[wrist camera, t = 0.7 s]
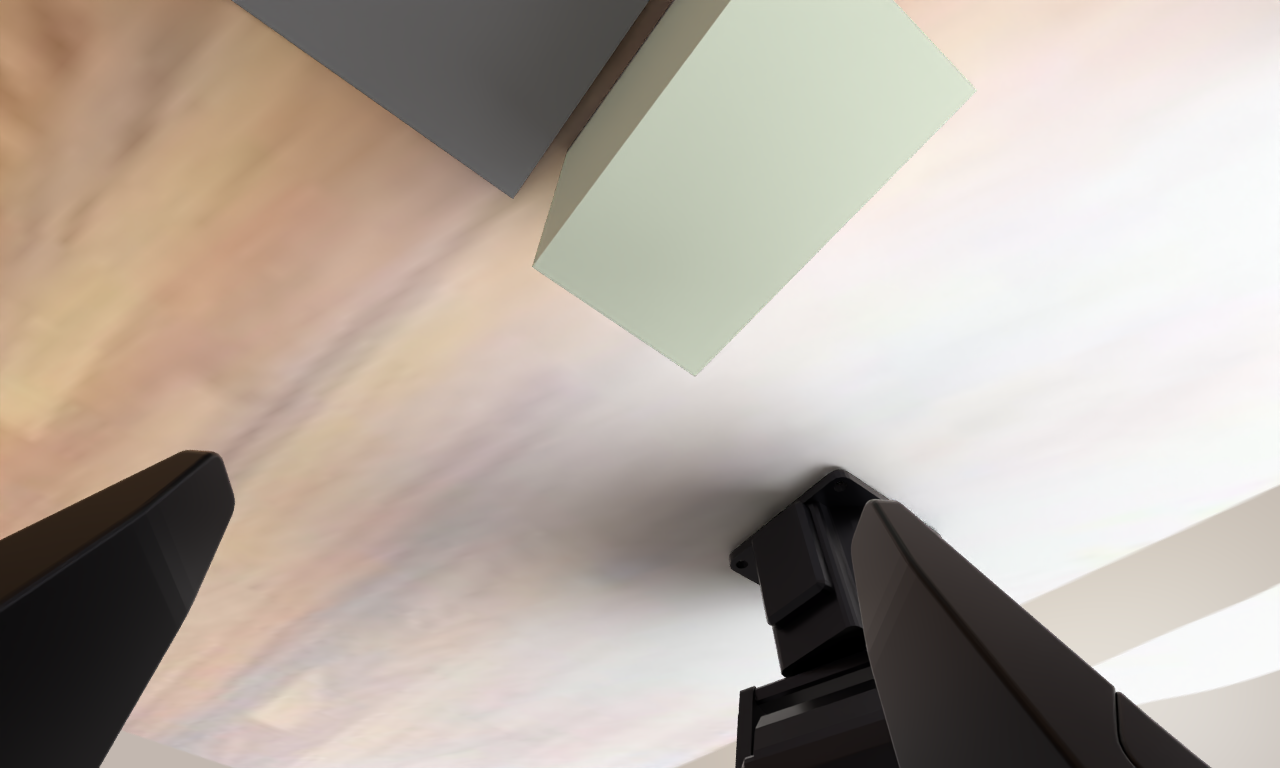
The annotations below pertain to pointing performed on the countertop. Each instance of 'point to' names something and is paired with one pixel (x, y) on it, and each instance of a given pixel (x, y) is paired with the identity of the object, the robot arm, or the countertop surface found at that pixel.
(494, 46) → the mat
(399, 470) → the countertop surface
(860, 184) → the sage block
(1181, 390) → the countertop surface
